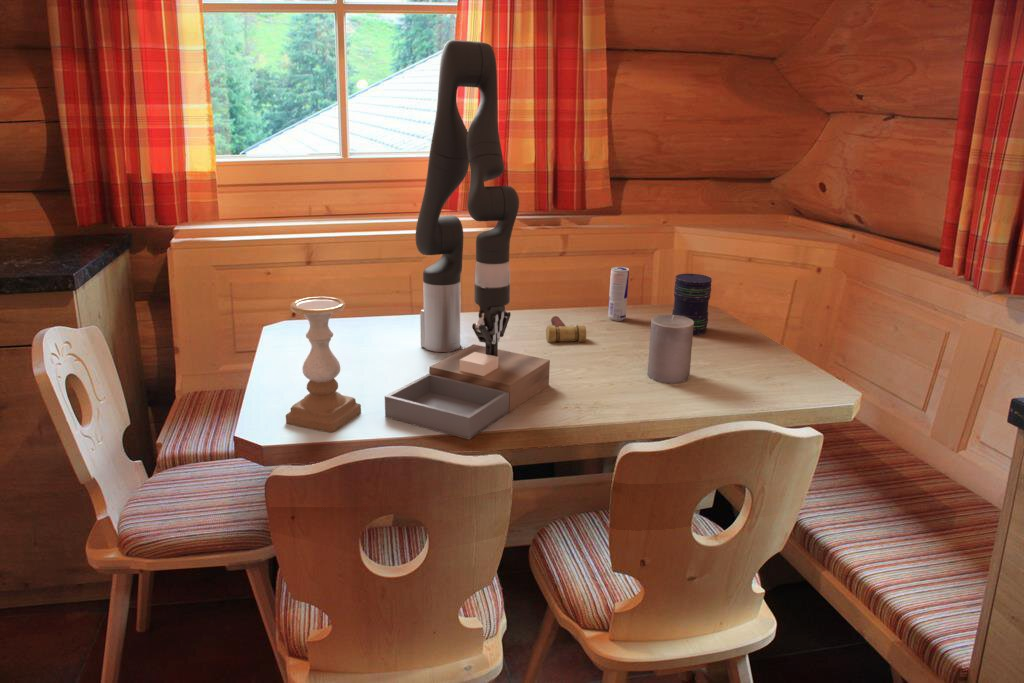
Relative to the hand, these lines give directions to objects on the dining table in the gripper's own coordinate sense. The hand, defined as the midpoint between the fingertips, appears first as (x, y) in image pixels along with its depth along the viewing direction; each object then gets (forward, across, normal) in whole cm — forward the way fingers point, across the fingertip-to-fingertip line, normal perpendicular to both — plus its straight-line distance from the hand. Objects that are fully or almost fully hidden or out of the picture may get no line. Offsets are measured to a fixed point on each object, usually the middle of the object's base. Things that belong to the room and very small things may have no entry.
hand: (491, 358), depth 175 cm
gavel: (+8, -47, -5) cm, 48 cm away
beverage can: (+8, -66, +4) cm, 67 cm away
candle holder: (+7, +31, -21) cm, 38 cm away
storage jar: (+8, -67, +25) cm, 71 cm away
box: (+7, +17, 0) cm, 18 cm away
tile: (+1, +4, 0) cm, 5 cm away
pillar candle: (+8, -29, +31) cm, 43 cm away
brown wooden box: (+7, 0, 0) cm, 7 cm away
